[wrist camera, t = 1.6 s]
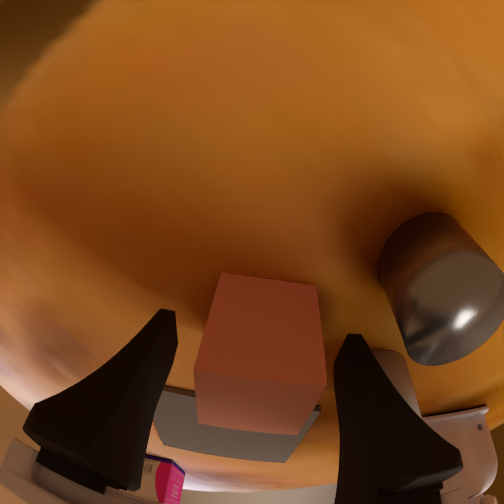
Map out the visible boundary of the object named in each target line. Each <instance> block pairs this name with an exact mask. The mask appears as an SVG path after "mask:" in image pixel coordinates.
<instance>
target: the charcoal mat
mask: <svg viewBox="0 0 504 504" xmlns="http://www.w3.org/2000/svg"><path fill="white" fill-rule="evenodd" d="M320 412H321V407H318V406H315V408H314V409H313V411H312V413H311V414H310V416H309V418H308V419H307V421H306V422H305V424H304V426H303V427H302V429H301V430H300V432H299V433H298V435H287V434H273V433H262V432H252V431H244V430H236V429H229V428H222V427H216V426H210V425H204V424H199V423H198V418H197V406H196V394H195V392H191V391H186V390H181V389H176V388H172V387H167V386H164V388H163V391H162V394H161V396H160V399H159V402H158V404H157V407H156V410H155V413H154V417H153V421H154V423H155V426H156V428H157V431H158V433H159V436H160V438H161V440H162V443H163V445H166V446H170V447H174V448H179V449H183V450H188V451H193V452H198V453H203V454H209V455H215V456H222V457H228V458H236V459H244V460H254V461H265V462H279V463H285V462H286V461H287V459H288V458H289V457H290V455H291V454H292V453H293V451H294V450H295V448H296V447H297V446H298V444H299V443H300V442H301V440H302V439H303V437H304V436H305V434H306V433H307V432H308V430H309V429H310V427H311V426H312V424H313V423H314V421H315V420H316V418H317V417H318V415H319V414H320Z"/></svg>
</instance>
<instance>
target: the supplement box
mask: <svg viewBox="0 0 504 504" xmlns="http://www.w3.org/2000/svg"><path fill="white" fill-rule="evenodd" d="M184 477H185V472H184V471H183V470H182V469H181V468H180V467H179V466H178V465H177V464H176V463H175V462H174V461H173V460H170V459H164V458H159V457H154V456H150V455H145V460H144V466H143V472H142V480H141V488H140V489H139V490H137V491H135V492H132V491H129V490H127V491H125V490H121V491H123V492H126V493H129V494H132V495H135V496H138V497H142V498H145V499H148V500H152V501H156V502H159V503H163V504H179V502H180V497H181V492H182V487H183V482H184Z"/></svg>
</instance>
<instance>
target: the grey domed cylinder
mask: <svg viewBox="0 0 504 504" xmlns="http://www.w3.org/2000/svg"><path fill="white" fill-rule="evenodd" d="M372 353H373V354H374V356H375V358H376V359H377V361H378V363H379V364H380V366H381V367H382V369H383V370H384V372H385V373H386V375H387V377H388V378H389V380H390V381H391V382H392V384H393V385H394V387H395V388H396V389H397V391H398V392H399V393H400V395H401V396H402V397H403V399H404V400H405V401H406V402H407V403H408V404H409V406H410V407H411V408H412V409H413V410H414V411H415V412H416V414H417V415H418V416H419V417H420V418H421V419H422V417H421V413H420V409H419V405H418V401H417V397H416V394H415V390H414V387H413V383H412V380H411V376H410V373H409V370H408V366H407V363H406V360H405V358H404V357H403V356H402V355H401V354H400V353H398V352H395V351H389V350H380V351H373V352H372Z"/></svg>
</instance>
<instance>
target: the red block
mask: <svg viewBox="0 0 504 504" xmlns="http://www.w3.org/2000/svg"><path fill="white" fill-rule="evenodd" d="M194 380H195V394H196V406H197V418H198V423H199V424H204V425H210V426H216V427H222V428H229V429H236V430H244V431H252V432H262V433H273V434H287V435H298V433H299V432H300V430H301V429H302V427H303V426H304V424H305V422H306V421H307V419H308V418H309V416H310V414H311V413H312V411H313V409H314V408H315V406H316V404H317V403H318V401H319V399H320V398H321V396H322V394H323V392H324V391H325V389H326V387H327V385H328V383H327V372H326V362H325V353H324V343H323V335H322V326H321V318H320V310H319V302H318V295H317V288H316V285H310V284H303V283H295V282H287V281H280V280H272V279H265V278H258V277H251V276H243V275H236V274H229V273H223V272H221V274H220V278H219V281H218V285H217V288H216V291H215V295H214V298H213V302H212V305H211V309H210V312H209V316H208V319H207V323H206V327H205V330H204V334H203V337H202V341H201V345H200V348H199V352H198V355H197V359H196V363H195V366H194Z"/></svg>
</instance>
